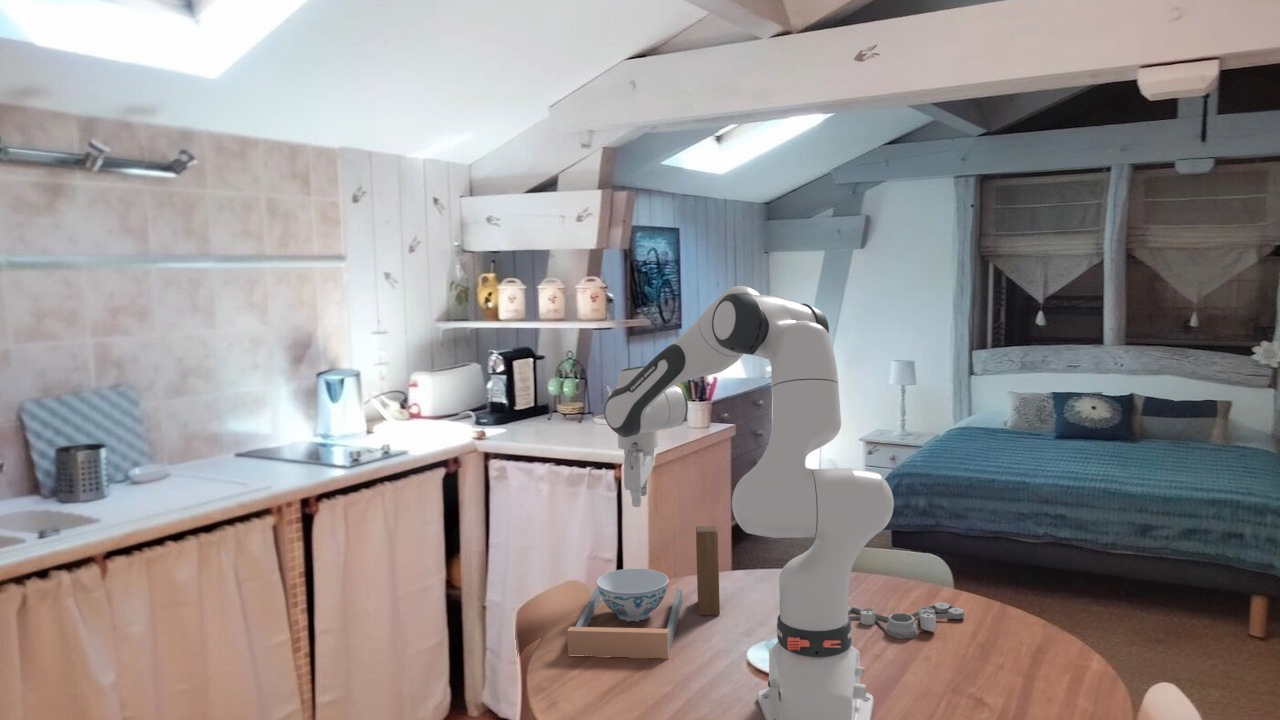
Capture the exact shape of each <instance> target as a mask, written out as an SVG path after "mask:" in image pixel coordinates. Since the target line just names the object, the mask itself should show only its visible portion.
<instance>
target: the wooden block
mask: <svg viewBox="0 0 1280 720" xmlns="http://www.w3.org/2000/svg"><path fill="white" fill-rule="evenodd" d="M695 529H696V530H695V543H696V544H695V545H696V546H695V547H696V578H697V579H696V581H697V583H696V584H697V585H696V586H697V614H698V616H700V615H706V616H720V613H721V607H720V604H721V603H720V575H719V574H720V569H719V534H718V533H719V532H718V531H719V530H718V526H716V525H704V526H703V525H700V526H699V525H698V526H696V528H695Z"/></svg>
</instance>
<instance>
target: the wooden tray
mask: <svg viewBox="0 0 1280 720" xmlns="http://www.w3.org/2000/svg"><path fill="white" fill-rule="evenodd" d="M600 601H602V598H601V596H600V593H599V590H598V587H595V588H594V590H593V592H592V594H591V596H590V597H589V600H588V602H587V604H586V605H585V608H584V609H583V611H582V613H581V615H580V616H579V618H578V621H577V623H576V624H575V626H569V627H568V629H567V633H566V635H567V636H566V637H567V654H568V655H584V656H585V655H587V656H588V655H589V656H591V655H592V656H611V657H629V658H628V659H648V658H662V659H661V660H668V658H670V654H671V650H672V647H673V646H672V645H673V643H674V642H673V641H674V638H675V634H676V630H677V625H678V621H679V618H680V614H679V613H681V610H680V609H682V606H681V605H682V604H683V589H682V588H678V589H676V593H675V596H674V599H673V604H672V607H671V611H670V614H669V615H670V616H669V619H668V621H667V622H668V623H667V626H666V628H651V627H650V628H649V627H647V628H646V627H643V628H641V627H606V626H605V627H600V626H599V627H597V626H588V624H589V622H590V620H591V618H592V616H593V615H595V614H594V612H595V610H596V609H597V610H598V608H597V606H598V605H599V606H600V603H601V602H600ZM599 602H600V603H599ZM598 603H599V604H598ZM599 606H598V607H599ZM597 610H596V611H597ZM595 613H596V612H595ZM593 617H594V616H593ZM678 617H679V618H678ZM592 619H593V618H592ZM591 621H592V620H591ZM590 623H591V622H590ZM589 625H590V624H589ZM587 626H588V627H587ZM568 655H567V656H568Z"/></svg>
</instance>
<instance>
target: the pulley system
mask: <svg viewBox="0 0 1280 720" xmlns="http://www.w3.org/2000/svg"><path fill="white" fill-rule="evenodd" d="M852 612H853V613H857V614H860V615H851V613H852ZM849 615H851V616H849ZM848 617H849V618H850V620H851V621H855V620H856V621H858V620H860V623H861V624H862V625H866V626H873V625H875V624H878V626H880V627H881V629H883V630H884V631H885V633H886V634H888V635H889V636H891V637H892V638H895V639H912V638H915V637H917V633H918V629H919V624H920V629H922V630H924V631H928V632H929V631H930V632H931V631H936V629H937V619H939V620H941V619H949V620H950V619H953V620H960V619H964V618H965V609H962V608H960V607H957V606H955V605H951V604H949V603H947V602H940V601H939V602H935V603H934V604H932V605H930V606H921V607H919V608H918V611H916V612H914V613H911V614H909V613H907V612H905V613H904V612H893V613H891V614H889V615H888V616H884V615H881V614H877V613H876V611H875V609H874V608H857V607H854V606H850V605H849V604H848ZM916 617H917V618H918V619H917V624H916V622H915V618H916ZM879 620H881V621H885V622H886V626H884V625H883V624H882V623H881V622H880V621H879Z"/></svg>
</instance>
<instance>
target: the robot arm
mask: <svg viewBox="0 0 1280 720" xmlns="http://www.w3.org/2000/svg"><path fill="white" fill-rule="evenodd" d="M829 333H830V327H829V322H828V320H827V317H826V315H825V314H824V313H823V311H821V310H819V309H818V308H816V307H815V306H812V305H809V304H808V303H798V302H795V301H793V300H789V299H784V298H781V297H778V296H774V295H766V294H760V293H759V292H758V291H757V290H755V289H753V288H751V287H749V286H744V285H737V286H733V287H731V288H729V289H728V290H726V291H725V292H724V293H722V294H721V295H720V296H719V297H718V298H717V299H715V300H714V301H713V302H712V303H711V304H710V305H709V306H708V307H707V308H706V309H705V310H704V312H703V313H702V314H701V315H700V317H698V319H697V320H696V321H695V322H694V323H693V324H692V325H691V327H689V328H688V329H687V330H686V331H685V332H684V333H683V334H682V335H680V337H678V338H677V339H676V340H674V342H672V343H671V344H670V345H668V346H667V347H666V348H664V349H663V350H662V351H660V352H659V353H658V354H657V355H656V356H654V358H652V359H651V360H650V361H649V363H647V365H644V366H643V365H642V366H636V367H627V368H624V369H622V370H621V371H619V372H618V375H617V382H616V383H617V384H616V388H615V389H614V390H613V391H612V392H611V393H610V395H609V396H608V398H607V400H606V401H605V402H606V403H605V406H604V413H603V414H604V419H605V421H606V424H607V426H609V428H610V429H611V430H612V431H613V432H615V434H617V447H618V449H619V450H623V455H624V459H623V485H624V489H625V490H626V491H629V492H630V496H631V497H630V498H631V506H632V507H633V508H640V507H641V506H642V497H646V496H647V495H648V482H649V476H650V475H651V473H652V471H653V467H654V459H655V457H654V456H655V449H657V448H658V446H659V435H658V434H659V431H661V430H662V431H663V430H669V429H673V428H676V427H679V426H681V425H683V423H684V422H685V420H686V418H687V415H688V411H689V405H688V403H689V402H688V398H687V395H686V394H685V393H686V392H685V391H684V390H683V389H682V388H681V387H680V386H678V385H677V384H679V383H682V382H685V381H689V380H693V379H697V378H703V377H707V376H711V375H712V376H713V375H716V374H719V373H722V372H723V371H725V370H727V369H728V368H729V367H731V366H733V365H734V364H736V363H737V362H738V361H739V360H740V359H741V358H742V357H743V355H749V356H750V355H751V356H754V357H759V358H762V359H766V360H768V361H769V363H770V369H771V397H772V398H771V399H772V404H771V405H772V411H771V412H772V417H771V419H772V421H771V432H770V433H771V434H770V437H769V441H768V444H767V446H766V449H765V451H764V453H763V455H762V456H761V458H760V459H759V461H758V462H757V463H756V464H755V465H754V466H753V467H752V468H751V469H750V470H749V471H748V472H747V473H746V474H744V475H743V476H742V477H741V478H740V480H738V482H737V483H736V486H735V488H734V490H733V494H732V499H731V507H732V509H731V510H732V512H733V516H734V518H735V520H736V523H737V524H738V526H739V527H740V528H741V529H742V530H743V532H744V533H746V534H751V535H755V536H758V537H760V536H761V537H765V538H773V539H778V538H779V539H783V538H785V539H786V538H787V539H788V538H790V539H791V538H815V541H814V542H813V543H812V545H811V547H810V548H809V549H808V550H806V551H805V552H803V553H802V554H799V555H798V556H796V557H793V558H792V559H790V560H789V561H788V562H787V563H786V564H785V565H784V566H783V568H782V569H781V571H780V573H779V574H780V575H779V578H778V579H779V580H778V581H779V583H778V584H779V585H778V586H779V589H778V590H779V592H778V593H779V614H778V616H777V618H776V619H777V622H776V632H777V635H776V636H777V641H776V643H775V644H774V645H773V646H772V647H771V648H770V649H769V650H768V681H767V686H768V687H767V688H764V689H761V690H759V691H758V693H757V701H758V703H759V707H760V708H761V712H762V713H763V717H764V719H765V720H872V716H873V715H872V714H873V710H874V709H873V708H874V704H875V702H874V696H873V695H872V694H870V693H869V692H867V684H864V683H861V677H863V676H864V667H863V666H861V663H860V662H861V660H860V659H861V657H860V655H861V654H860V651H859V650H858V649H857V648H856V647H854V646H853V645H852V641H853V640H852V635H853V628H852V623H851V622H852V620H850V618H849V617H848V616H849V615H848V605H849V594H850V593H849V590H850V581H851V580H850V579H851V573H852V569H853V567H854V564H855V561H856V559H857V558H858V556H859V554H860V553H861V551H862V550H863V549H864V547H865V546H866V545H867V544H868V543H869V542H870V540H872V539H873V538H874V537H875V536H876V535H877V534H879V533H880V532H882V531H883V530H885V528H886V527H887V526H888V525H889V523H890V522H891V518H892V516H893V512H894V506H895V504H894V503H895V501H894V495H893V492H892V489H891V487H890V485H889V483H888V482H887V480H886V479H885V478H884V477H883V476H882V474H880V473H879V472H875V471H870V470H864V469H859V468H858V469H857V468H851V467H847V468H845V467H843V468H842V467H841V468H840V467H839V468H809V467H806V459H807V456H808V455H809V454H810V453H812V452H814V451H816V450H819V449H820V448H822V447H824V446H825V445H827V444H828V443H830V442H831V441H833V440H834V439H835V438H836V437H837V436H838V434H839V433H840V430H841V427H842V415H841V414H842V413H841V403H840V402H841V401H840V399H841V398H840V387H839V377H838V376H839V375H838V368H837V361H836V357H835V353H834V347H833V344H832V341H831V338H830V336H831V335H830V334H829Z"/></svg>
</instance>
